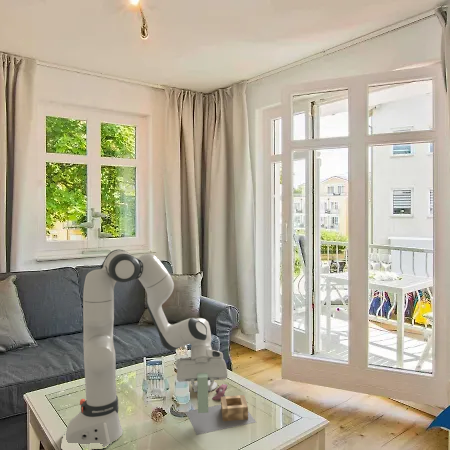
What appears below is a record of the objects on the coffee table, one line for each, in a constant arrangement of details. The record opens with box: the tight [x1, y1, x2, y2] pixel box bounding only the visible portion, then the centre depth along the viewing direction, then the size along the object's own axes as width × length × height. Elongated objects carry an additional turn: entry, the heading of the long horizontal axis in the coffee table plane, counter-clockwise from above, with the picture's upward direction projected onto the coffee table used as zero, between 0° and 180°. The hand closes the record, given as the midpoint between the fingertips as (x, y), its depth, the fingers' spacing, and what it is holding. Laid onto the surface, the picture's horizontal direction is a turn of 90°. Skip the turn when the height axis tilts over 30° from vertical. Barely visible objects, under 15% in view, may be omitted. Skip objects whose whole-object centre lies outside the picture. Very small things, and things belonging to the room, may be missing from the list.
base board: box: [186, 404, 257, 436], centre depth 164 cm, size 24×18×2 cm
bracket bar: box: [196, 373, 209, 413], centre depth 159 cm, size 4×4×14 cm
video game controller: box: [211, 383, 228, 401], centre depth 183 cm, size 10×5×7 cm, turn 169°
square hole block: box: [220, 394, 249, 421], centre depth 166 cm, size 10×10×5 cm
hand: (202, 391), depth 159 cm, fingers closed on bracket bar, 4 cm apart
